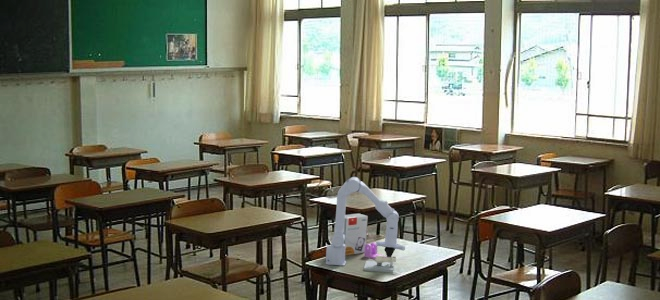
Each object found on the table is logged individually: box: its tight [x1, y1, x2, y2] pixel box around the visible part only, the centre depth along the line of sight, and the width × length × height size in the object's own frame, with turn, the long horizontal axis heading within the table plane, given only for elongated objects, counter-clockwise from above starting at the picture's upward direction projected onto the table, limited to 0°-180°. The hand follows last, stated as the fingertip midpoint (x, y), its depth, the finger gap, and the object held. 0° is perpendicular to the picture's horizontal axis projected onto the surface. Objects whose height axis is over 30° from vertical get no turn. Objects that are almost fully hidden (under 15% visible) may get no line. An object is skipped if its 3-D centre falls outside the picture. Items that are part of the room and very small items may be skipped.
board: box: [363, 258, 395, 274], centre depth 399 cm, size 14×14×6 cm
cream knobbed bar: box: [375, 254, 397, 263], centre depth 399 cm, size 10×4×3 cm, turn 92°
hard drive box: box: [344, 213, 369, 256], centre depth 425 cm, size 16×8×20 cm, turn 129°
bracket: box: [364, 242, 387, 260], centre depth 418 cm, size 13×6×7 cm, turn 47°
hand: (389, 262), depth 402 cm, fingers closed, pressing on cream knobbed bar
